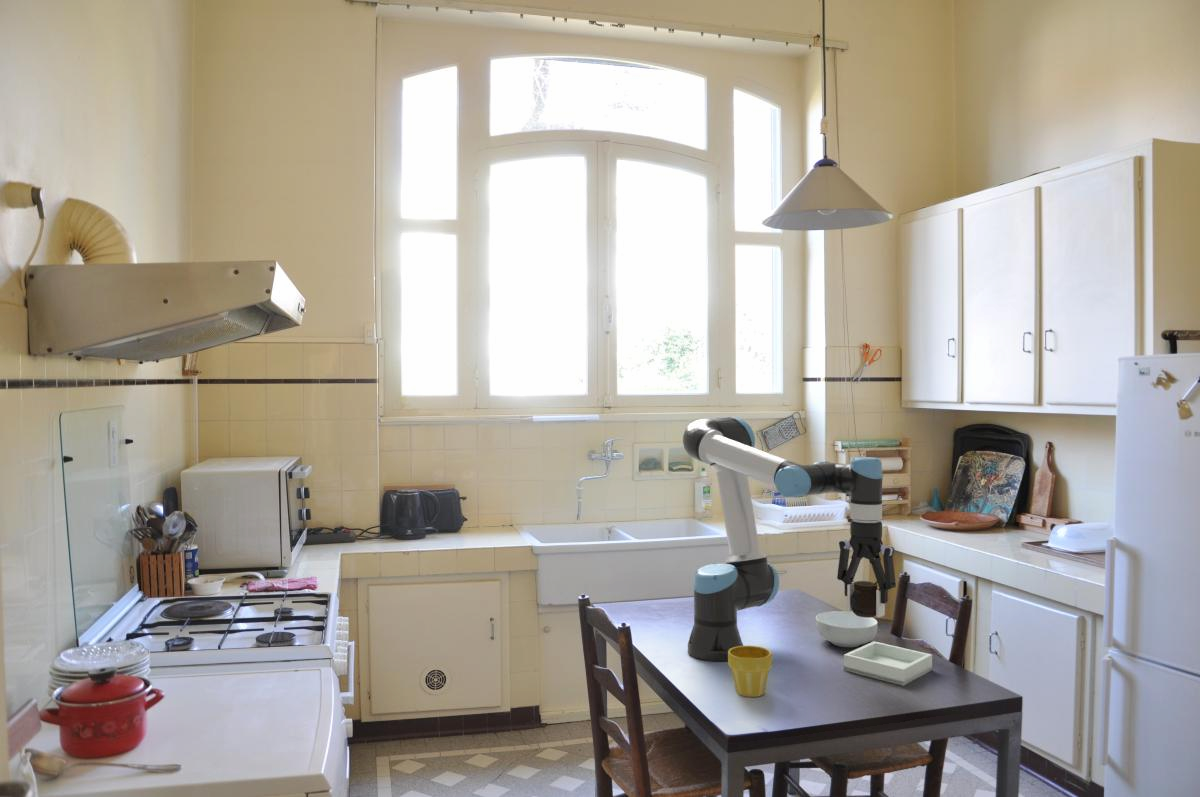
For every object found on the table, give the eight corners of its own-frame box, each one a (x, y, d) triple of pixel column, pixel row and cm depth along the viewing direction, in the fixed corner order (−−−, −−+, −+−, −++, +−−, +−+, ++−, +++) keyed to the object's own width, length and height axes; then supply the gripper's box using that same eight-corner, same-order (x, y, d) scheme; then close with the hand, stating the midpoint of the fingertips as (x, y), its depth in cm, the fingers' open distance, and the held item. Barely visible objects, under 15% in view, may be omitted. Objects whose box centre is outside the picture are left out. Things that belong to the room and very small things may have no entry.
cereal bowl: (837, 655, 231) (837, 629, 231) (804, 638, 247) (804, 613, 247) (890, 649, 237) (890, 623, 237) (854, 632, 253) (854, 608, 252)
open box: (903, 685, 208) (903, 669, 208) (843, 670, 219) (843, 654, 219) (932, 670, 219) (932, 654, 219) (873, 656, 231) (874, 641, 231)
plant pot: (718, 690, 205) (718, 650, 205) (748, 681, 211) (748, 642, 211) (751, 703, 197) (751, 661, 196) (780, 693, 203) (781, 652, 203)
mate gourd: (848, 610, 215) (849, 571, 215) (879, 612, 213) (880, 572, 213) (851, 618, 208) (851, 577, 208) (883, 620, 206) (884, 579, 206)
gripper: (912, 523, 205) (911, 618, 206) (838, 514, 220) (837, 602, 220) (896, 526, 200) (896, 624, 201) (822, 517, 215) (821, 608, 215)
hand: (865, 612), depth 211 cm, fingers closed on mate gourd, 7 cm apart
